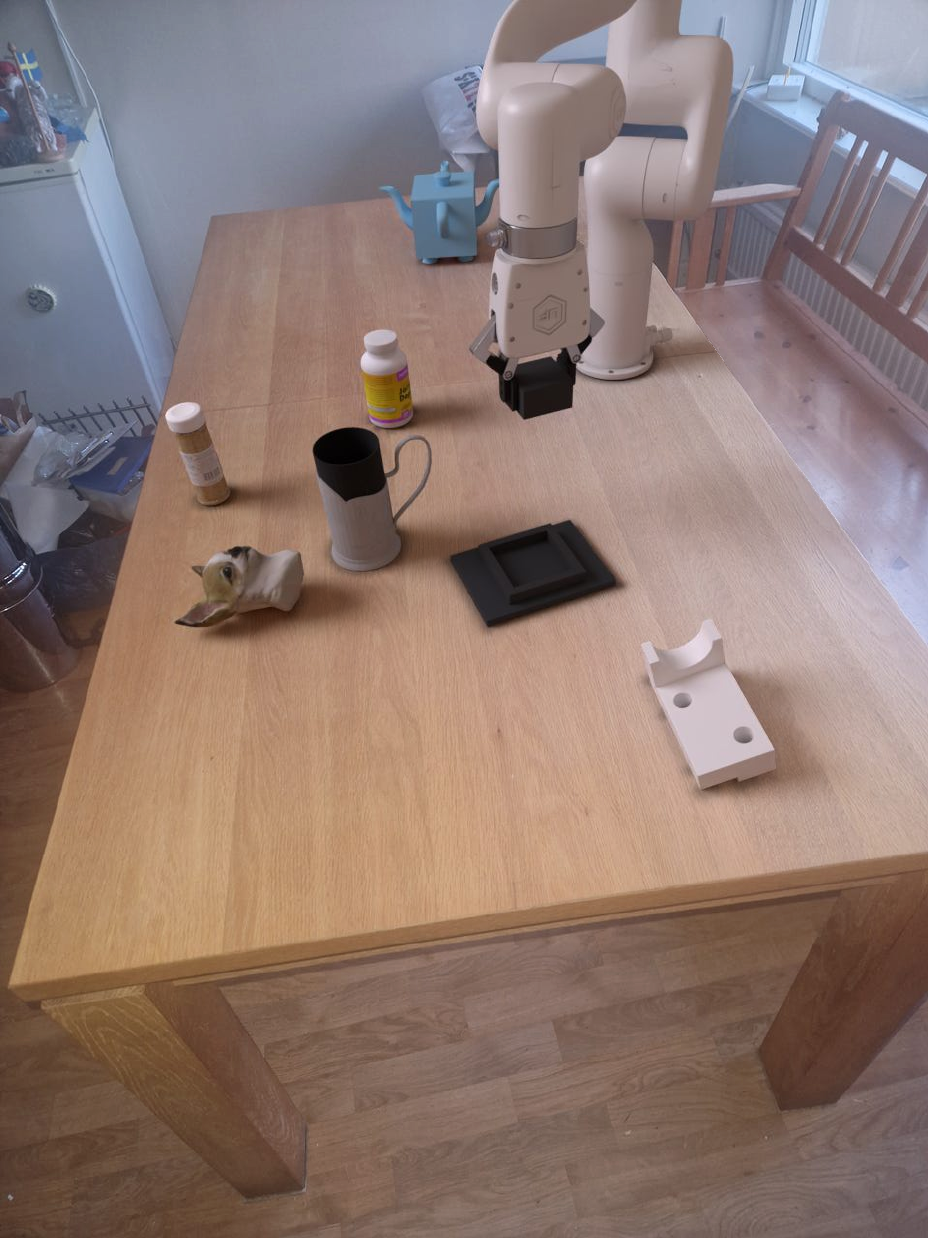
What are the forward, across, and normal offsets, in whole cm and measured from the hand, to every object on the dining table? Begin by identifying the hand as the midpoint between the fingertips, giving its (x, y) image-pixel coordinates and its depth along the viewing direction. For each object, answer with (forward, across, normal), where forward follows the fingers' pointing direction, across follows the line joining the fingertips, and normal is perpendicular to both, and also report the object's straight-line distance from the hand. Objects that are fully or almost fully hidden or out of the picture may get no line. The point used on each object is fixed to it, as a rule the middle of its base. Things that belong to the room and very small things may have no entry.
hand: (537, 397), depth 91 cm
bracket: (+17, +1, -38) cm, 41 cm away
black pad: (+1, 0, 0) cm, 1 cm away
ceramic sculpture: (+17, -38, -2) cm, 41 cm away
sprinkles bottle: (+16, -39, +21) cm, 47 cm away
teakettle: (+15, +18, +84) cm, 88 cm away
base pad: (+16, -6, -11) cm, 20 cm away
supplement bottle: (+16, -11, +29) cm, 35 cm away
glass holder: (+16, -20, +2) cm, 26 cm away
